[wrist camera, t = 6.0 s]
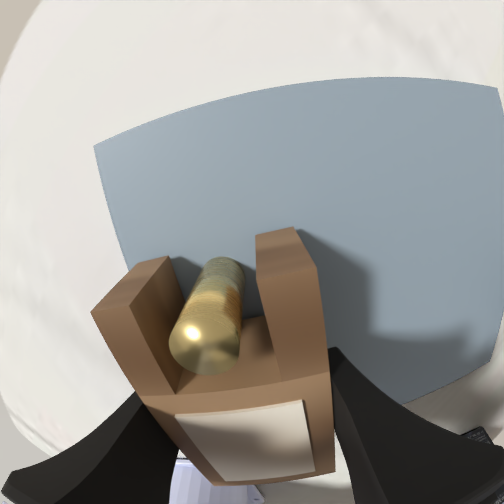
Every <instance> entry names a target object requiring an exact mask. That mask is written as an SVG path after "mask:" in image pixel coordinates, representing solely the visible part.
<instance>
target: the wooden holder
mask: <svg viewBox="0 0 504 504" xmlns="http://www.w3.org/2000/svg"><path fill="white" fill-rule="evenodd" d="M255 250H256V281H257V285H258V289H259V293H260V297H261V301H262V305H263V309H264V313H265V315H264V316H259V317H254V318H249V319H244V320H242V326H241V339H240V351H239V357H238V360H237V362H236V364H235V365H234V366H233V367H232V368H231V369H229V370H228V371H226V372H224V373H221V374H217V375H201V374H197V373H193V372H191V371H189V370H187V369H185V368H184V367H182V366H181V365H180V364H179V363H178V362H177V361H176V360H175V359H174V357H173V356H172V354H171V351H170V348H169V338H170V335H171V332H172V330H173V328H174V326H175V324H176V322H177V320H178V318H179V315H180V313H181V311H182V309H183V307H184V305H185V303H186V302H185V299H184V296H183V294H182V291H181V288H180V286H179V283H178V280H177V277H176V274H175V272H174V269H173V266H172V263H171V260H170V257H169V255H167V256H163V257H159V258H155V259H151V260H147V261H143V262H139V263H137V264H136V265H135V266H134V267H133V268H132V269H131V270H130V271H129V272H128V273H127V274H126V275H125V276H124V277H123V278H122V279H121V280H120V281H119V282H118V283H117V284H116V285H115V286H114V287H113V288H112V289H111V291H110V292H109V293H108V294H107V295H106V296H105V297H104V298H103V299H102V300H101V301H100V302H99V303H98V304H97V305H96V306H95V307H94V309H93V310H92V311H91V315H92V317H93V319H94V321H95V323H96V325H97V327H98V328H99V330H100V332H101V334H102V336H103V338H104V340H105V342H106V343H107V345H108V347H109V349H110V351H111V352H112V354H113V356H114V358H115V359H116V361H117V363H118V364H119V366H120V368H121V369H122V371H123V373H124V374H125V376H126V377H127V379H128V380H129V382H130V384H131V385H132V387H133V388H134V390H135V391H136V393H137V394H138V396H139V397H140V398H141V400H142V401H143V403H144V404H145V406H146V407H147V408H148V410H149V411H150V413H151V414H152V415H153V417H154V418H155V419H156V421H157V422H158V423H159V425H160V426H161V427H162V428H163V430H164V431H165V432H166V433H167V435H168V436H169V437H170V438H171V440H172V441H173V442H174V443H175V444H176V446H177V447H178V448H179V449H180V450H181V452H182V453H183V454H184V455H185V456H186V457H187V458H188V459H189V461H190V462H191V463H192V464H193V465H194V466H195V467H196V468H197V469H198V470H199V471H200V472H201V473H202V475H203V476H204V477H205V478H206V479H207V480H208V481H209V482H210V483H211V484H212V485H213V486H241V485H256V484H267V483H276V482H284V481H291V480H297V479H303V478H309V477H314V476H319V475H324V474H328V473H333V472H335V442H334V422H333V406H332V393H331V381H330V370H329V360H328V350H327V341H326V332H325V324H324V316H323V309H322V301H321V294H320V287H319V281H318V274H317V268H316V265H315V264H314V262H313V260H312V258H311V257H310V255H309V253H308V251H307V250H306V248H305V246H304V244H303V243H302V241H301V239H300V237H299V236H298V234H297V232H296V231H295V229H294V227H288V228H284V229H279V230H275V231H270V232H266V233H261V234H257V235H255Z"/></svg>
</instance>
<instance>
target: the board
mask: <svg viewBox="0 0 504 504" xmlns="http://www.w3.org/2000/svg"><path fill="white" fill-rule="evenodd" d="M94 151H95V155H96V160H97V165H98V169H99V173H100V178H101V182H102V186H103V190H104V194H105V197H106V201H107V205H108V208H109V212H110V215H111V219H112V222H113V225H114V229H115V232H116V235H117V238H118V241H119V244H120V247H121V250H122V253H123V256H124V259H125V262H126V265H127V267H128V270H129V271H130V270H131V269H132V268H133V267H134V266H135V265H136V264H137V263H139V262H143V261H147V260H151V259H155V258H159V257H163V256H167V255H169V257H170V260H171V263H172V266H173V269H174V272H175V274H176V277H177V280H178V283H179V286H180V288H181V291H182V294H183V296H184V299H185V302H186V301H187V299H188V297H189V295H190V293H191V290H192V288H193V286H194V284H195V282H196V280H197V278H198V276H199V274H200V272H201V270H202V268H203V266H204V265H205V264H206V263H207V262H208V261H209V260H210V259H212V258H215V257H220V256H223V257H229V258H232V259H234V260H235V261H237V262H238V263H239V264H240V265H241V266H242V268H243V270H244V272H245V290H244V302H243V314H242V320H244V319H249V318H254V317H259V316H264V315H265V313H264V309H263V305H262V301H261V297H260V293H259V289H258V285H257V281H256V250H255V235H257V234H261V233H266V232H270V231H275V230H279V229H284V228H288V227H294V229H295V231H296V232H297V234H298V236H299V237H300V239H301V241H302V243H303V244H304V246H305V248H306V250H307V251H308V253H309V255H310V257H311V258H312V260H313V262H314V264H315V265H316V268H317V274H318V281H319V287H320V294H321V301H322V309H323V316H324V324H325V332H326V341H327V349H328V348H332V347H335V346H336V347H338V348H339V349H340V350H341V352H342V353H343V354H344V355H345V356H346V357H347V359H348V360H349V361H350V362H351V363H352V364H353V365H354V366H355V367H356V368H357V369H358V370H359V371H360V372H361V373H362V374H363V375H364V376H365V377H366V378H368V379H369V380H370V381H371V382H372V383H373V384H374V385H375V386H377V387H378V388H379V389H380V390H381V391H383V392H384V393H385V394H386V395H388V396H389V397H390V398H392V399H393V400H394V401H396V402H397V403H399V404H400V405H402V404H405V403H407V402H410V401H412V400H415V399H417V398H419V397H422V396H424V395H426V394H429V393H431V392H433V391H435V390H437V389H439V388H442V387H444V386H446V385H448V384H450V383H452V382H454V381H456V380H458V379H459V378H461V377H463V376H465V375H467V374H469V373H470V372H472V371H474V370H476V369H477V368H479V367H481V366H483V365H484V364H486V363H488V362H489V361H490V359H491V356H492V353H493V349H494V346H495V343H496V339H497V336H498V332H499V328H500V324H501V320H502V316H503V311H504V113H503V109H502V105H501V101H500V97H499V93H498V89H497V88H495V87H490V86H484V85H479V84H473V83H466V82H459V81H450V80H441V79H428V78H409V77H367V78H347V79H334V80H324V81H315V82H307V83H299V84H292V85H286V86H280V87H274V88H269V89H263V90H258V91H253V92H249V93H244V94H240V95H236V96H231V97H227V98H223V99H220V100H216V101H212V102H208V103H205V104H201V105H198V106H195V107H191V108H188V109H185V110H182V111H179V112H176V113H173V114H170V115H167V116H164V117H161V118H158V119H156V120H153V121H150V122H148V123H145V124H142V125H140V126H137V127H135V128H132V129H130V130H127V131H125V132H123V133H120V134H118V135H116V136H114V137H111V138H109V139H107V140H105V141H103V142H100V143H98V144H96V145H94Z"/></svg>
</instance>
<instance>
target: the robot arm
mask: <svg viewBox="0 0 504 504" xmlns="http://www.w3.org/2000/svg"><path fill="white" fill-rule="evenodd" d="M327 350H328V360H329V370H330V381H331V393H332V406H333V422H334V429H335V432H336V435H337V438H338V441H339V443H340V446H341V449H342V452H343V455H344V457H345V460H346V463H347V467H348V470H349V475H350V479H351V484H352V489H353V494H354V499H355V504H494V502H496V501H497V499H498V498H497V496H496V493H495V491H496V490H497V489H498V488H499V487H501V486H502V485H503V484H504V449H503V447H502V446H498V445H493V444H488V443H484V442H480V441H476V440H473V439H470V438H467V437H464V436H461V435H458V434H455V433H453V432H450V431H448V430H446V429H444V428H441V427H439V426H437V425H435V424H433V423H430V422H428V421H426V420H425V419H423V418H421V417H419V416H418V415H416V414H414V413H412V412H411V411H409V410H408V409H406V408H405V407H403V406H402V405H400V404H399V403H397V402H396V401H394V400H393V399H392V398H390V397H389V396H388V395H386V394H385V393H384V392H383V391H381V390H380V389H379V388H378V387H377V386H375V385H374V384H373V383H372V382H371V381H370V380H369V379H368V378H366V377H365V376H364V375H363V374H362V373H361V372H360V371H359V370H358V369H357V368H356V367H355V366H354V365H353V364H352V363H351V362H350V361H349V360H348V359H347V357H346V356H345V355H344V354H343V353H342V352H341V350H340V349H339V348H338V347H336V346H335V347H332V348H328V349H327ZM178 451H179V448H178V447H177V446H176V444H175V443H174V442H173V441H172V440H171V438H170V437H169V436H168V435H167V433H166V432H165V431H164V430H163V428H162V427H161V426H160V425H159V423H158V422H157V421H156V419H155V418H154V417H153V415H152V414H151V413H150V411H149V410H148V408H147V407H146V406H145V404H144V403H143V401H142V400H141V398H140V397H139V396H138V394H137V393H136V391H135V392H134V393H133V394H132V395H131V396H130V397H129V398H128V399H127V400H126V401H125V402H124V403H123V404H122V405H121V406H120V407H119V408H118V409H117V410H116V411H115V412H114V413H113V414H112V415H111V416H109V417H108V418H107V419H106V420H105V421H104V422H103V423H102V424H101V425H100V426H98V427H97V428H96V429H95V430H94V431H92V432H91V433H90V434H89V435H87V436H86V437H85V438H83V439H82V440H81V441H79V442H78V443H76V444H75V445H73V446H71V447H70V448H68V449H66V450H65V451H63V452H61V453H59V454H58V455H56V456H54V457H52V458H50V459H48V460H45V461H43V462H41V463H38V464H35V465H33V466H30V467H26V468H23V469H20V470H15V471H12V472H11V474H10V475H9V477H8V479H7V481H6V482H5V484H4V486H3V488H2V490H1V492H2V494H3V495H4V496H5V497H7V498H8V499H9V500H10V501H12V502H13V503H15V504H263V503H265V499H264V497H263V496H262V495H261V493H260V492H259V490H258V489H257V487H256V486H255V485H241V486H213V485H212V484H211V483H210V482H209V481H208V480H207V479H206V478H205V477H204V476H203V475H202V473H201V472H200V471H199V470H198V469H197V468H196V467H195V466H194V465H193V464H192V463H191V462H190V461H189V460H180V459H177V455H178ZM2 504H7V503H6V502H5V501H3V502H2ZM502 504H504V502H503V503H502Z"/></svg>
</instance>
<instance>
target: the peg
mask: <svg viewBox="0 0 504 504" xmlns="http://www.w3.org/2000/svg"><path fill="white" fill-rule="evenodd" d="M244 290H245V272H244V270H243V268H242V266H241V265H240V264H239V263H238V262H237V261H235V260H234V259H232V258H229V257H223V256H220V257H215V258H212V259H210V260H209V261H208V262H207V263H206V264H205V265H204V266H203V268H202V270H201V272H200V274H199V276H198V278H197V280H196V282H195V284H194V286H193V288H192V290H191V293H190V295H189V297H188V299H187V301H186V303H185V305H184V307H183V309H182V311H181V313H180V315H179V318H178V320H177V322H176V324H175V326H174V328H173V330H172V332H171V335H170V338H169V348H170V351H171V354H172V356H173V357H174V359H175V360H176V361H177V362H178V363H179V364H180V365H181V366H182V367H184V368H185V369H187V370H189V371H191V372H193V373H197V374H201V375H217V374H221V373H224V372H226V371H228V370H229V369H231V368H232V367H233V366H234V365H235V364H236V362H237V360H238V357H239V351H240V339H241V326H242V314H243V302H244Z"/></svg>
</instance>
